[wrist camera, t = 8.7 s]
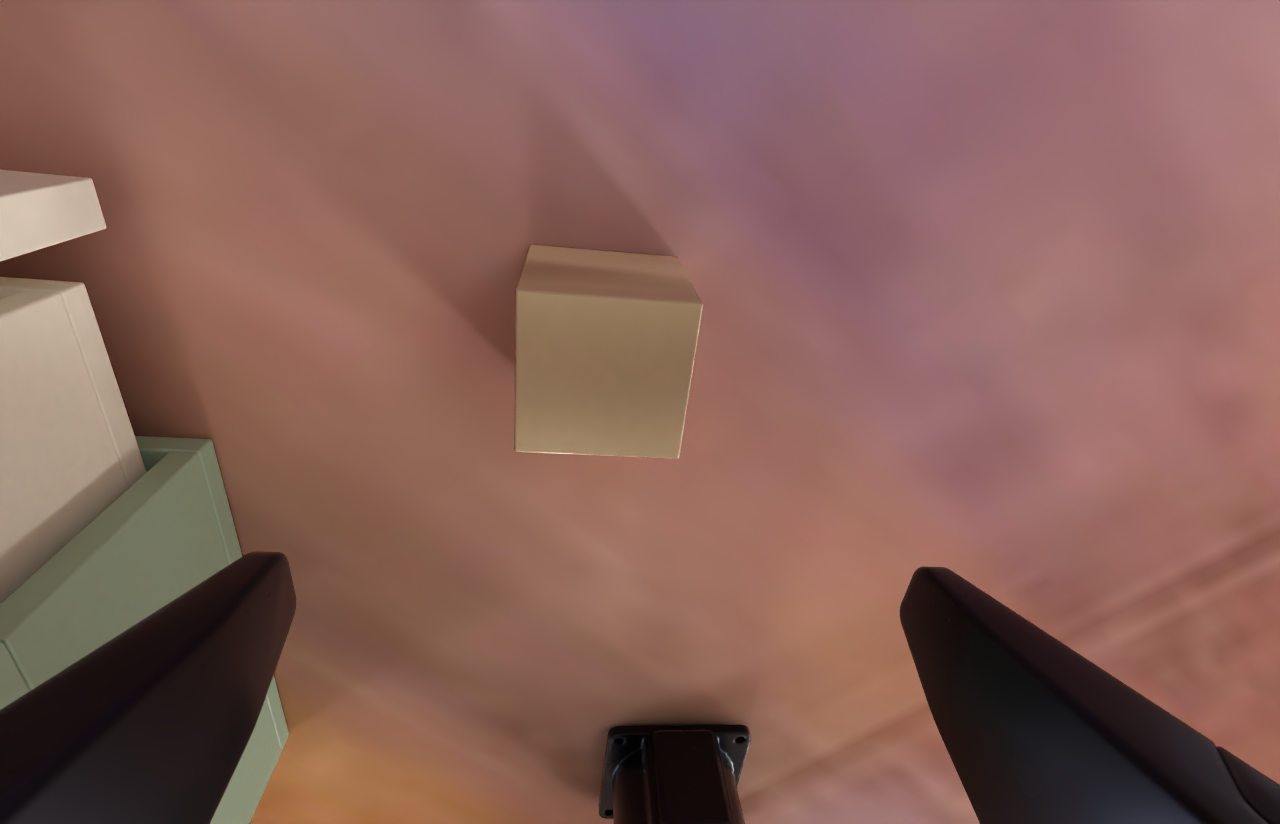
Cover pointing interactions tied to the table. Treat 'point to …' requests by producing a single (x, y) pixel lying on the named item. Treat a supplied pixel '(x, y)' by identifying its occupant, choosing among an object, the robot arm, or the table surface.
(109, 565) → the cabinet
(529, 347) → the block
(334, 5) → the table surface
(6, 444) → the drawer
